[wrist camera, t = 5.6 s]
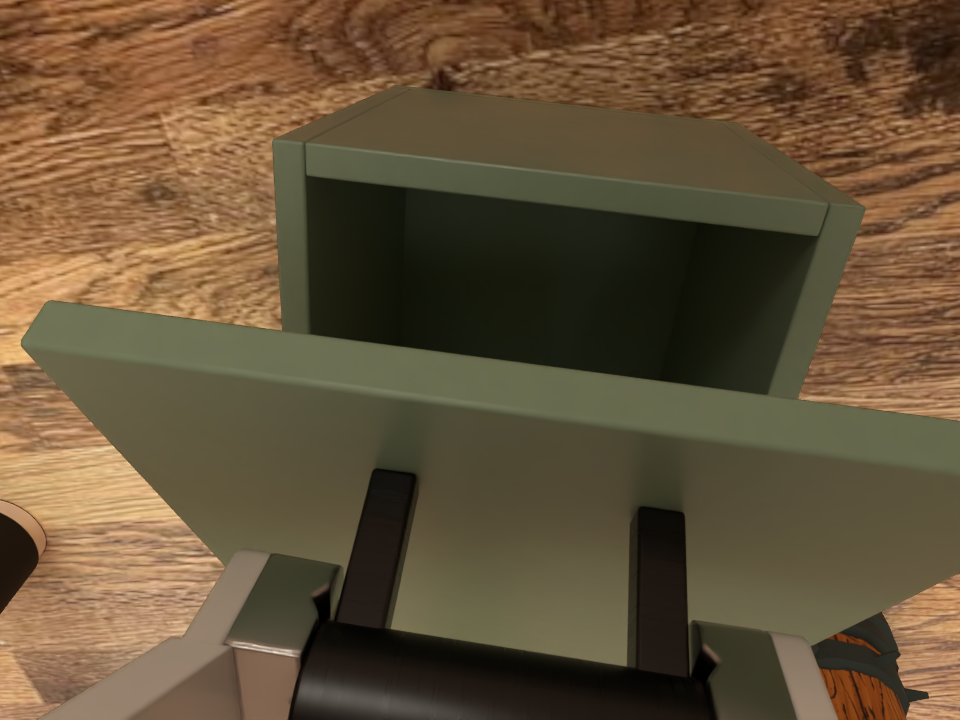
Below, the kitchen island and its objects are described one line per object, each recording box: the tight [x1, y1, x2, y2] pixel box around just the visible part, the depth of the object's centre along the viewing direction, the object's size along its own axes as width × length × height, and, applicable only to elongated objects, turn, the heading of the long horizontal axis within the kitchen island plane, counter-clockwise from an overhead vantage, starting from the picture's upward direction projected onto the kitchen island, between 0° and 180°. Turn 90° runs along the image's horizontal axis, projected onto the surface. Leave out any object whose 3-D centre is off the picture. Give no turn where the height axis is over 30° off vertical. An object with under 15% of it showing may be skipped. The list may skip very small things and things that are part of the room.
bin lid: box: [21, 300, 960, 720], centre depth 14 cm, size 17×14×5 cm
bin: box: [272, 85, 866, 399], centre depth 25 cm, size 16×14×13 cm
